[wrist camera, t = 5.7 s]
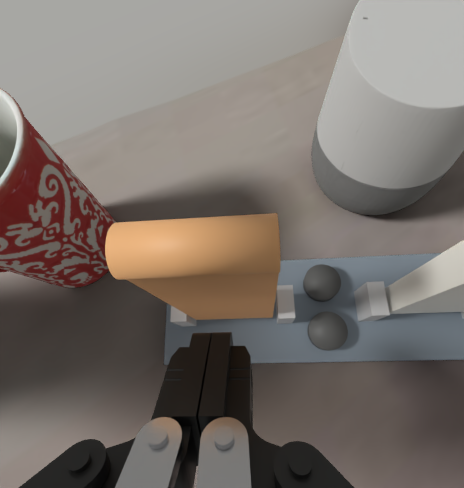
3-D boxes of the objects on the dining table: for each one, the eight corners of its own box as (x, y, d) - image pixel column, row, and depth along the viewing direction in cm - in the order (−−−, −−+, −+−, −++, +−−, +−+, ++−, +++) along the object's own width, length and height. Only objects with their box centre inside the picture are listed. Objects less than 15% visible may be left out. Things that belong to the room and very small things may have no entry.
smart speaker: (293, 206, 27) (317, 62, 14) (323, 120, 30) (368, -69, 17) (410, 240, 25) (567, 110, 12) (432, 145, 28) (580, -47, 15)
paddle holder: (171, 364, 24) (148, 365, 19) (175, 272, 26) (156, 253, 21) (474, 359, 22) (530, 358, 17) (448, 260, 24) (492, 236, 20)
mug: (114, 183, 30) (1, 52, 17) (148, 267, 27) (40, 183, 14) (-15, 243, 29) (-233, 153, 16) (4, 337, 26) (-249, 316, 13)
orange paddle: (196, 322, 21) (101, 271, 9) (196, 295, 22) (108, 213, 10) (272, 319, 21) (281, 263, 9) (271, 292, 21) (277, 202, 9)
